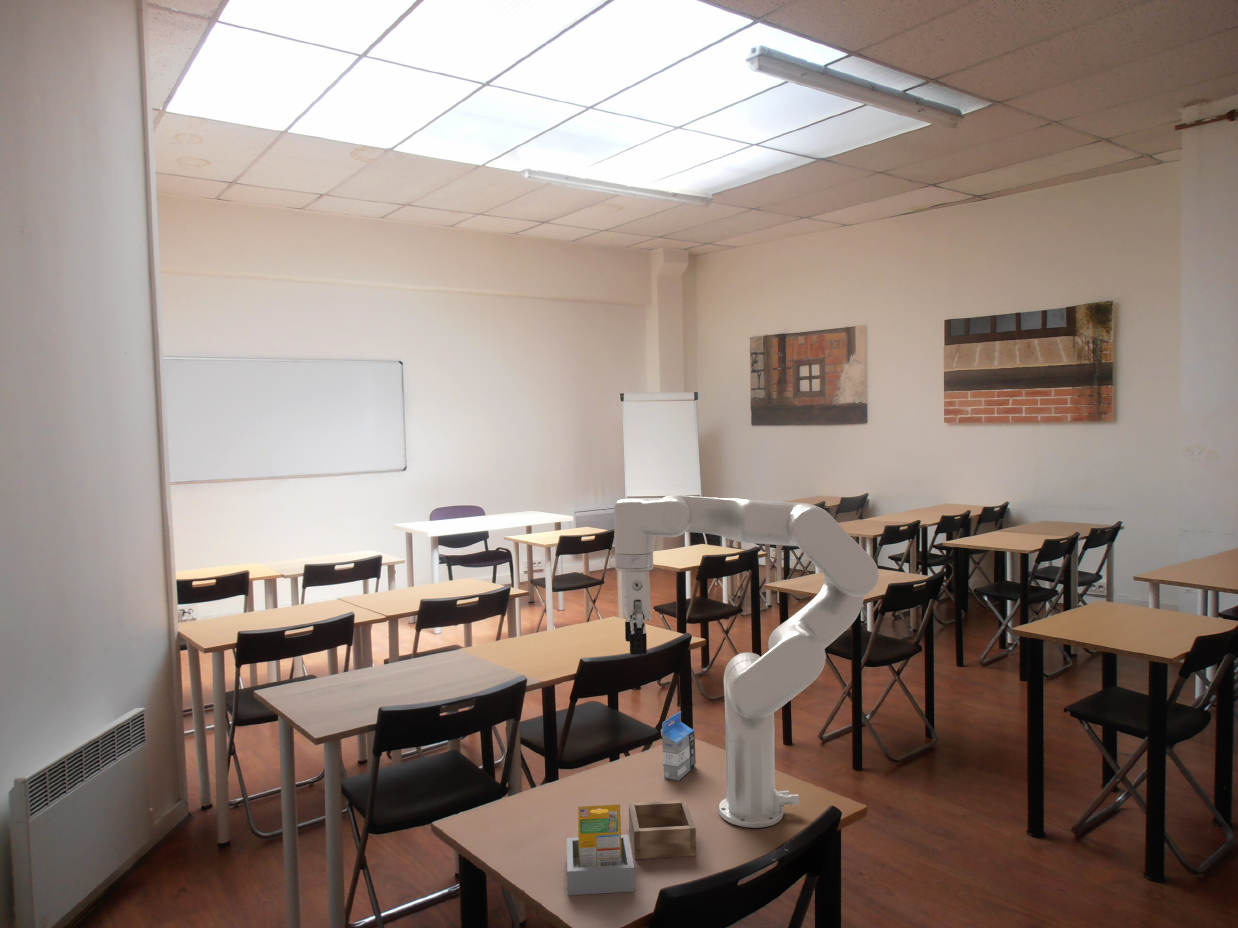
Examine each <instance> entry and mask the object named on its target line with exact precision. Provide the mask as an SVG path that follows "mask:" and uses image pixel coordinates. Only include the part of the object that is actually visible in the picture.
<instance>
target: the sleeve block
mask: <svg viewBox="0 0 1238 928" xmlns="http://www.w3.org/2000/svg"><path fill="white" fill-rule="evenodd" d="M696 828H697V827H696V825H695V822H694V819H693V817H692V813H691V811H690V808H689V805H688V803H687V800H686V799H685V800H665V801H648V802H647V801H646V802H628V830H629V834H630V836H629V837H630V841H631V848H632V850H633V851H632V852H633V858H634V860H642V859H644V860H645V859H646V860H647V859H659V858H661V859H662V858H677V857H678V858H679V857H680V858H681V857H695V856H697V840H696V839H697V834H696V832H697V830H696Z"/></svg>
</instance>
